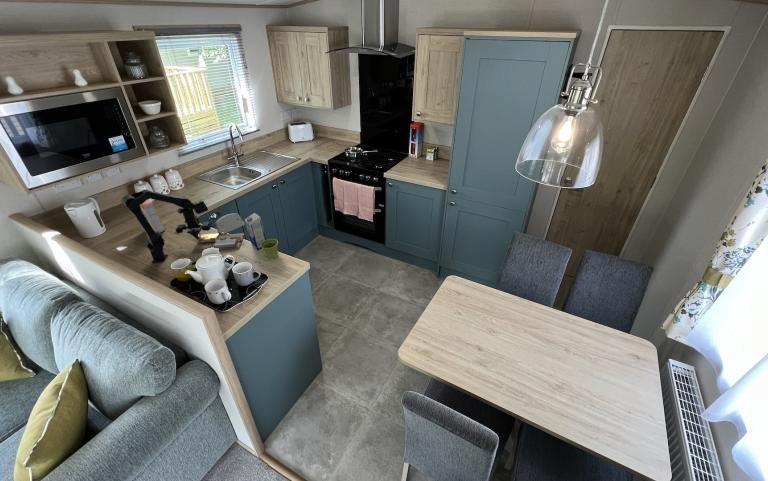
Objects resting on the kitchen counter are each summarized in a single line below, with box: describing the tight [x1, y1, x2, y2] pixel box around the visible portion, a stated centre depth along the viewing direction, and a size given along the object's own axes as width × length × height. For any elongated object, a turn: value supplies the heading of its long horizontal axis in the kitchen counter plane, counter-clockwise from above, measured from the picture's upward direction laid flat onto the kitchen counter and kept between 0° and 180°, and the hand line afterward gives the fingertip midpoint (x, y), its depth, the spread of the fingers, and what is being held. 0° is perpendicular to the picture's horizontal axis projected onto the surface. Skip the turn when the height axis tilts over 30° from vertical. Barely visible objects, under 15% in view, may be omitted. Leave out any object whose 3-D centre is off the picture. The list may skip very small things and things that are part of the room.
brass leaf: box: [197, 232, 220, 241], centre depth 208 cm, size 6×10×2 cm, turn 97°
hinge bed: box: [192, 233, 245, 254], centre depth 206 cm, size 16×26×4 cm, turn 98°
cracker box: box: [140, 199, 166, 234], centre depth 218 cm, size 14×6×21 cm, turn 49°
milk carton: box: [244, 212, 267, 251], centre depth 198 cm, size 7×7×20 cm
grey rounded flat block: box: [214, 212, 246, 235], centre depth 221 cm, size 17×5×10 cm, turn 138°
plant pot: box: [261, 238, 279, 260], centre depth 192 cm, size 9×9×9 cm
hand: (198, 239), depth 208 cm, fingers closed
